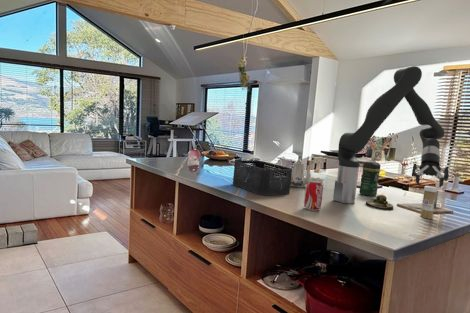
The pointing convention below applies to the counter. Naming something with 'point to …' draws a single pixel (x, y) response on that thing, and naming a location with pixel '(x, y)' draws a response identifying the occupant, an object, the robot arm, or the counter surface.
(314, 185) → the soda can
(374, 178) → the coffee jar
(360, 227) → the counter surface
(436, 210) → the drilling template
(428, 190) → the sprinkles bottle
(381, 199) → the olive green hat
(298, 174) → the chinaware
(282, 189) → the storage bin
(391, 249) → the counter surface
